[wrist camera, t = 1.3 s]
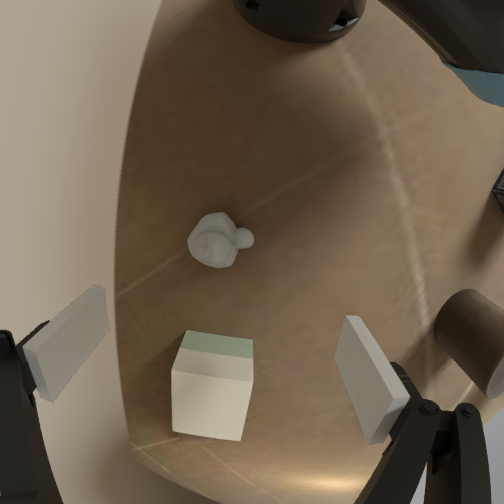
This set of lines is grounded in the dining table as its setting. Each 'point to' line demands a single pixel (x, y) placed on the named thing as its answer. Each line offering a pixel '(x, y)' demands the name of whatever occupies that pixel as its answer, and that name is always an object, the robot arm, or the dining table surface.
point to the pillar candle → (474, 339)
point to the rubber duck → (218, 240)
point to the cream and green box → (212, 385)
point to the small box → (499, 190)
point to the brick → (194, 438)
